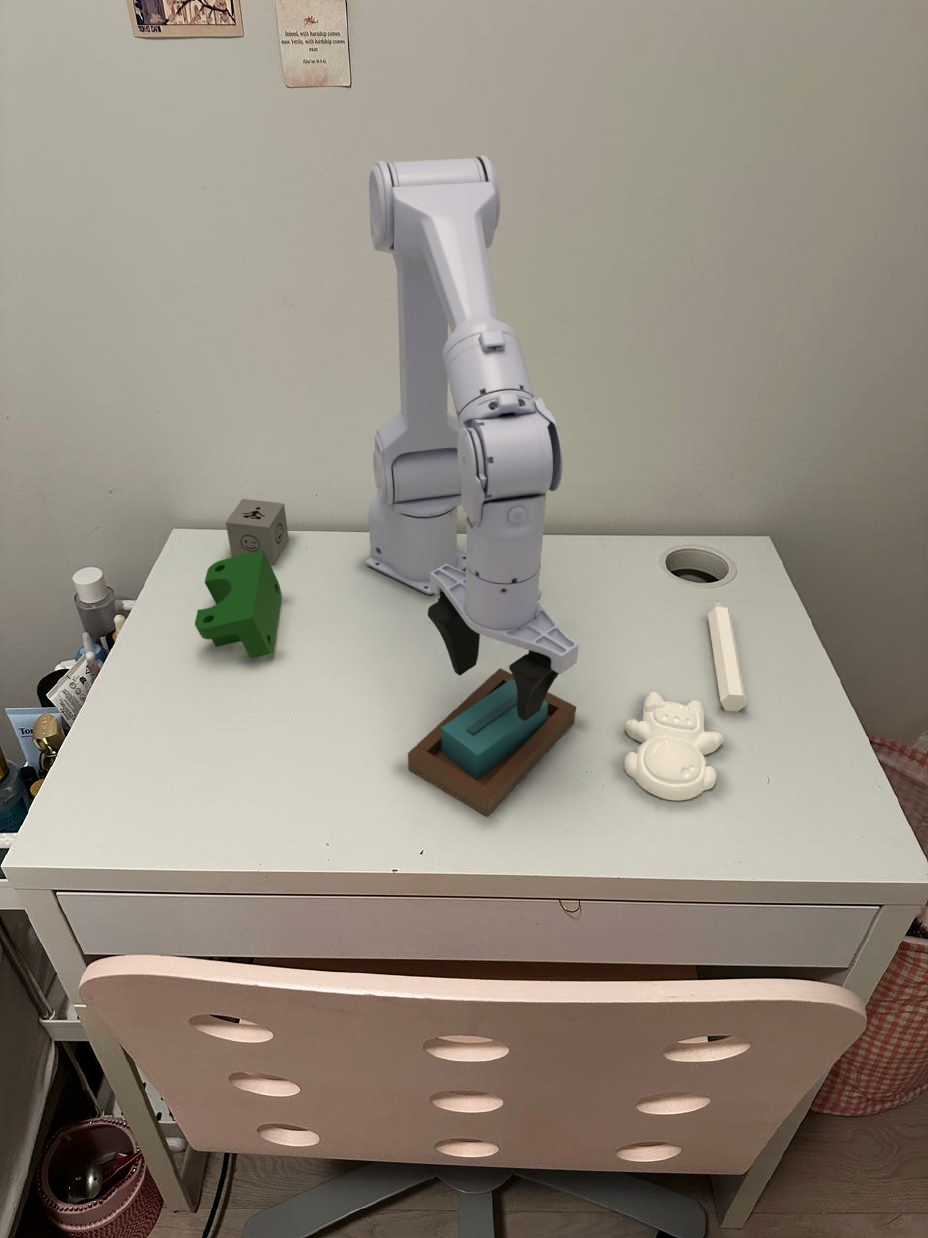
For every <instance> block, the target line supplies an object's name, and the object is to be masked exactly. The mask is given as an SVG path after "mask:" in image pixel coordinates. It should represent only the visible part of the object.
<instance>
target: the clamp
mask: <svg viewBox="0 0 928 1238" xmlns="http://www.w3.org/2000/svg"><path fill="white" fill-rule="evenodd" d="M204 584H205V586H206V588H207V590H208V592H209V593H210V595H211V597H212V599H213V601H214V603H215V605H212V606H210V607H207V608H202V609H197V612H196V617H195V620H194V627H195V628H196V630H197V631H198V633H199V636H200V638H202V639H204V640H211V642H212V643H213V645H214V646H215V648H218V647H224V646H226V645H231V644H236V643H240V642H241V644H242V646H243V647H244V649H245V651H246V654H247V655H248V657H249V658H250V659H256V658H260V657H264V656H269V655H274V653H275V650H276V649H275V648H276V642H277V634H278V627H279V626H278V625H279V618H280V610H281V604H282V603H281V602H282V590H281V587H280V583H279V580H278V578H277V576H276V574H275V572H274V569H273V568H272V564H270V563H269V561H268V559H267V557H266V555H265V552H264V550H262V551H258V552H253V553H249V554H245V555H241V556H237V557H233V558H232V557H229V558H225V559H221V560H218V561H216V562H214V563H212V564H211V565H210V566H209V567H208V568H207V570H206V575H205V578H204Z"/></svg>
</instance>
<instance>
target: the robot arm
mask: <svg viewBox="0 0 928 1238" xmlns="http://www.w3.org/2000/svg"><path fill="white" fill-rule="evenodd" d="M368 178H369V179H368V197H369V198H368V199H369V219H370V221H369V223H370V237H371V243H372V244H373V248H374V250H375V251H377V252H382V253H386V254H391V255H392V258H393V261H394V264H395V268H396V286H397V287H396V289H397V290H396V291H397V293H396V294H397V323H398V327H397V328H398V356H399V357H398V359H399V390H400V391H399V392H400V394H399V395H400V411H399V412H397V413H396V414H395V415H394V416H392V417H391V418H390V419H388V420H387V421H385V422H384V423H383V424H381V425H380V426H379V427H377V428H376V429H375V435H374V449H373V453H372V454H373V455H372V465H373V476H374V482H375V488H376V493H375V494H374V496H373V497H372V500H371V502H370V505H369V510H368V530H369V547H370V557H369V558H367V559H366V560H365V561H366V562H365V563H366V566H368V567H371V568H372V569H375V570H376V571H378V572H380V573H382V574H385V575H387V576H389V577H391V578H393V579H395V580H397V581H399V582H402V583H403V584H405V585H408V586H410V587H412V588H414V589H416V590H417V591H420V592H422V593H424V594H426V595H433V594H434V595H436V596H439V597H438V598H437V601H436V602H434V603H433V604H431V605H430V606H429V607H428V609H427V617H428V618H429V619H430V621H431V622H432V624H434V626H435V627H436V629H437V631H438V632H439V634H440V635H441V638H442V640H443V643H444V645H445V647H446V650H447V653H448V656H449V659H450V663H451V666H452V669H453V671H454V673H455V674H456V675H458V676H459V677H461V676H462V675H463V674H465V673H466V672H468V671H469V670H471V669H472V668H474V667H475V666H477V662H478V658H479V652H480V637H481V636H484V637H487V638H490V639H493V640H496V641H499V642H503V643H505V644H509V645H512V646H516V647H518V648H522V649H525V650H528V653H525V654H524V655H522V656H521V657H520V658H518V659H517V660H515V661H514V662H512V663H511V664H509V672H510V673H511V674H513V677H514V679H515V683H516V687H517V713H518V717H519V718H520V719H522V720H523V721H526V720H528V719H529V718H530V717H532V716H533V715H535V714H536V713H537V712H539V711H540V709H541V706H542V704H543V701H544V699H545V697H546V694H547V692H549V690H550V688H551V687H552V685H553V684H554V681H555V680H556V679H557V678H558V676H559V675H562V674H563V673H564V672H566V671H567V670H569V669H570V668H572V667H573V666H574V665H575V664H577V660H578V652H579V643H577V642H575V641H574V640H573V639H571V638H570V637H569V636H568V635H567V634H565V632H564V631H563V630H562V629H561V628H560V626H559V625H558V624H557V623H556V621H554V620H553V618H552V617H551V616H550V614H549V613H548V612H547V610H546V609H544V607H543V606H542V605H541V604H540V602H539V601H540V600H541V599H542V590H541V589H539V587H540V576H541V575H540V574H541V564H542V563H541V562H542V549H543V538H544V526H545V515H546V501H547V493H548V492H556V491H557V490H558V489H559V487H560V485H561V481H562V476H563V470H564V468H563V466H564V465H563V464H564V458H563V457H564V456H563V455H564V454H563V446H562V445H563V444H562V440H561V435H560V432H559V427H558V423H557V420H556V418H555V417H554V415H553V414H552V412H551V411H550V410H549V409H548V408H547V407H546V404H545V401H544V399H542V397H536V396H535V394H534V390H533V386H532V383H531V379H530V376H529V371H528V368H527V364H526V362H525V358H524V357H525V356H524V354H523V350H522V346H521V343H520V340H519V336H518V333H517V332H516V330H515V329H514V328H513V327H512V326H510V325H508V324H507V323H505V322H502V321H500V320H499V318H498V312H497V307H496V306H497V305H496V300H495V295H494V287H493V283H492V276H491V271H490V264H489V259H488V258H489V257H488V251H487V249H489V248H491V246H492V244H493V241H494V237H495V231H496V230H497V228H498V225H499V222H500V213H501V189H500V180H499V177H498V172H497V170H496V167H495V166H494V164H493V163H492V161H491V160H490V159H489V158H488V156H486V155H477V156H476V157H468V158H467V157H466V158H465V157H464V158H446V159H445V158H444V159H428V160H425V159H424V160H407V161H405V160H404V161H385V160H377V161H376V162H375V164H374V165H373V167H372V168H371V169H370V172H369V177H368ZM449 330H450V332H451V334H450V335H448V334H449ZM448 384H449V388H448ZM448 389H450V394H451V397H452V402H453V406H454V410H455V413H456V416H455V415H453V414H451V413H450V412H448V393H449V392H448ZM459 506H462V508H463V510H464V512H465V514H466V542H465V543H466V544H465V545H466V546H465V547H466V549H465V554H464V553H462V552H460V551H458V507H459ZM464 570H465V571H464Z"/></svg>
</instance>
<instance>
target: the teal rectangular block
mask: <svg viewBox="0 0 928 1238" xmlns="http://www.w3.org/2000/svg"><path fill="white" fill-rule="evenodd" d="M547 712H548V703H547V702H546V701H543V704H542V706H541V709H540V711H539V712H537V713H536V714H535V715H533V716H532V717H530V718H529V719H528V720H526V721H523V720H522V719H520V718H519V717H518V713H517V687H516V683H515V681H514V680H513V679H511V680H509V681H508V682H506V683H505V684H504V685H502V686H501V687H499V688H498V689H496V690H495V691H493V692H492V693H491V694H489V695H488V696H486V697H485V698H483V699H482V700H480V701H479V702H478V703H476V704H475V705H473V706H472V707H470V708H469V709H467V710H466V711H465V712H463V713H462V714H460V715H459V716H457V717H456V718H454V719H453V720H452V721H450V722H449V723H447V724H446V725H444V726H443V727H442V728H441V753H442V754H444V755H445V756H446V757H448V758H449V759H450V760H451V761H453V762H454V763H455V764H457V765H458V766H459V767H460V768H462V769H463V770H464V771H466V772H467V773H468V774H469V775H471V776H472V777H473V778H475V779H476V780H478V779H479V778H481V777H482V776H483V775H485V774H486V773H487V772H489V771H490V770H491V769H493V768H494V767H495V766H496V765H498V764H499V763H500V762H502V761H503V760H504V759H506V758H507V757H508V756H510V755H511V754H512V753H514V752H515V751H516V750H518V749H519V748H520V747H522V746H523V745H524V744H525V743H526V742H527V741H528V740H529V739H530V738H531V737H532V736H533V735H534V734H535V733H536V732H537V731H538V729H539V728H540V727H541V726H542V725H543V724H544V723H545V722H546V721H547Z"/></svg>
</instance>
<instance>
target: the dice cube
mask: <svg viewBox="0 0 928 1238" xmlns="http://www.w3.org/2000/svg"><path fill="white" fill-rule="evenodd" d="M285 507H286V505H285V503H282V502H274V501H266V500H265V501H264V500H257V499H256V500H255V499H250V498H249V499H248V498H241V500H240V501H239V503H238V504H237V506H236V507H235V508H234V510H233V511H232V513H231V514H230V515H229V517H228V518H227V520H226V521H225V526H226V532H227V538H228V544H229V548H230V555H231V558H233V557H237V556H241V555H245V554H249V553H253V552H258V551H262V550H264V552H265V555H266V557H267V559H268V561H269V563H270V565H275V564H276V562H277V561H278V559H279V557H280V555H281V554H282V552H283V550H284V549H285V547H286V546H287V544H288V542H289V540H290V538H289V531H288V524H287V523H288V522H287V515H286V508H285Z"/></svg>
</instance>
